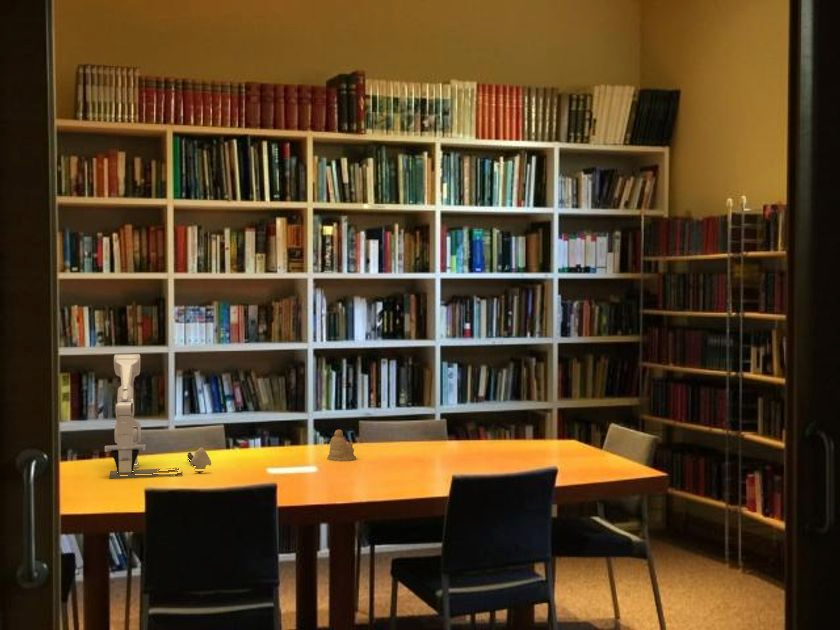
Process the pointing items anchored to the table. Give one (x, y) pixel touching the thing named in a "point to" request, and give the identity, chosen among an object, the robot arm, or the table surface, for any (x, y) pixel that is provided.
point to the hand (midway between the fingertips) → (125, 470)
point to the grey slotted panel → (143, 471)
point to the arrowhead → (200, 459)
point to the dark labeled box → (191, 456)
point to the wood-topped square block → (125, 465)
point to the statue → (340, 448)
